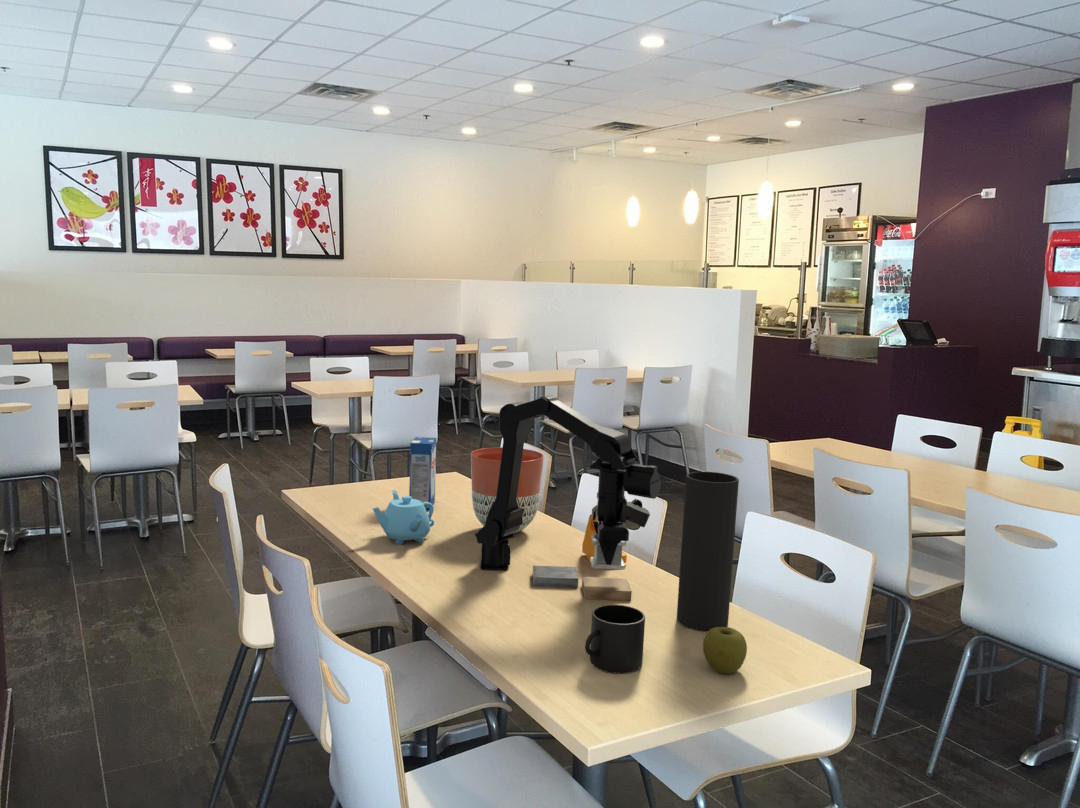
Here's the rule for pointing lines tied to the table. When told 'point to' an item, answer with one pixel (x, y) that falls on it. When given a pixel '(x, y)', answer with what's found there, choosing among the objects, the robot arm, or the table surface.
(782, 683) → the table surface
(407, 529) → the teapot
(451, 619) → the table surface
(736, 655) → the apple
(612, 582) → the stand
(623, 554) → the bracket
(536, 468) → the planter
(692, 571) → the vase
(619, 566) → the block
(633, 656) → the mug
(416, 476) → the milk carton
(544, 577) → the stand
